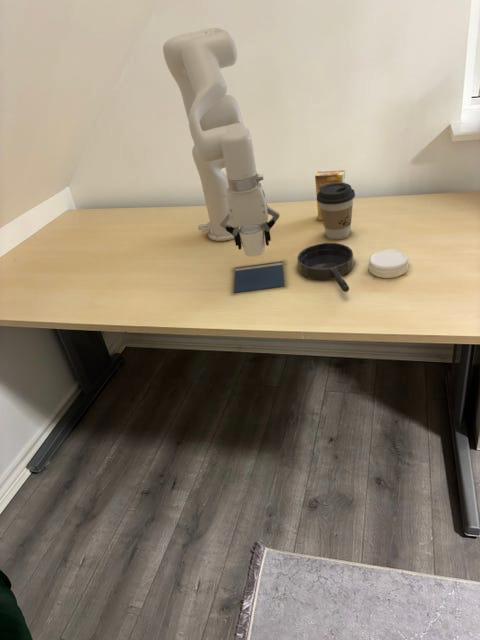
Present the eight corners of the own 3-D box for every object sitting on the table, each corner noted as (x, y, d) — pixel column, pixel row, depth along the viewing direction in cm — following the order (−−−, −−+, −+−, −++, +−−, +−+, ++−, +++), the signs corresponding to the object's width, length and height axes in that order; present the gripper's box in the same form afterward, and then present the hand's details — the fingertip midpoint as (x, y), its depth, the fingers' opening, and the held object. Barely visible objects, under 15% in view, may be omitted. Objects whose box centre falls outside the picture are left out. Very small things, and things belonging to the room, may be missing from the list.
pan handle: (329, 272, 133) (329, 266, 132) (336, 271, 134) (335, 265, 133) (343, 293, 124) (342, 287, 123) (350, 292, 124) (350, 286, 123)
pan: (300, 283, 135) (299, 272, 133) (296, 257, 148) (295, 247, 146) (357, 276, 134) (357, 265, 132) (348, 250, 146) (348, 239, 144)
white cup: (266, 244, 140) (262, 221, 136) (268, 255, 134) (264, 231, 130) (242, 248, 140) (237, 225, 136) (243, 259, 135) (238, 235, 131)
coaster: (392, 256, 139) (392, 245, 137) (415, 270, 131) (416, 259, 129) (361, 267, 137) (361, 256, 135) (383, 283, 129) (383, 271, 127)
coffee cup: (339, 246, 149) (337, 198, 141) (312, 237, 157) (307, 191, 148) (364, 231, 154) (363, 184, 146) (336, 223, 162) (333, 178, 154)
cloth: (234, 293, 137) (233, 292, 137) (235, 268, 149) (235, 267, 148) (284, 286, 135) (284, 285, 135) (282, 262, 147) (282, 261, 147)
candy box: (318, 220, 166) (314, 175, 158) (320, 215, 169) (317, 171, 161) (344, 220, 163) (342, 174, 154) (347, 214, 166) (344, 169, 158)
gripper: (276, 172, 128) (284, 235, 138) (210, 182, 130) (223, 243, 140) (277, 182, 122) (286, 247, 132) (208, 192, 124) (221, 256, 134)
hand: (253, 244), depth 136 cm, fingers closed on white cup, 6 cm apart
